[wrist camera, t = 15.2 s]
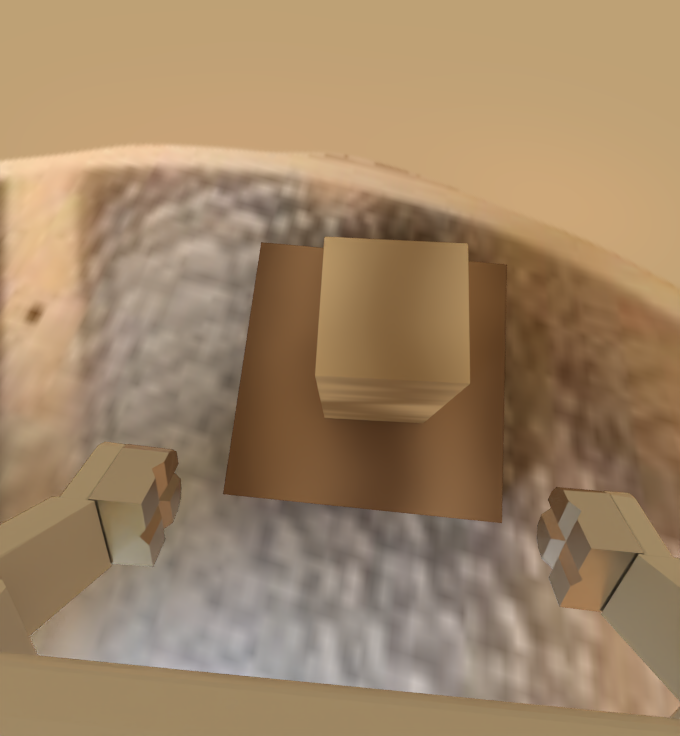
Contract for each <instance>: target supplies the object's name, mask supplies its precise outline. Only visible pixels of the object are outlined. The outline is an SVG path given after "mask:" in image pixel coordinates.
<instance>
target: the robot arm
mask: <svg viewBox="0 0 680 736" xmlns="http://www.w3.org/2000/svg"><path fill="white" fill-rule="evenodd" d="M177 466H178V458H177V452H176V451H174V450H173V449H165V448H156V447H148V446H140V445H132V444H119V443H111V442H103V443H102V444H100V445H98V446H97V448H96V449H95V450H94V452H93V453H92V454H91V456H90V457H89V458H88V460H87V461H86V462H85V464H84V465H83V466H82V468H81V469H80V470H79V472H78V473H77V474H76V476H75V477H74V478H73V480H72V481H71V483H70V484H69V485H68V487H67V488H66V489H65V491H64V492H63V493H62V495H61V496H60V497H51V498H49V499H47V500H45V501H43V502H41V503H40V504H38V505H36V506H34V507H32V508H30V509H28V510H27V511H25V512H23V513H21V514H19V515H17V516H15V517H14V518H12V519H10V520H8V521H6V522H4V523H2V524H1V525H0V736H680V707H679V708H678V709H677V710H676V711H675V712H674V713H673V714H672V715H671V717H670V718H666V717H656V716H646V715H636V714H626V713H616V712H606V711H595V710H585V709H575V708H565V707H555V706H545V705H534V704H524V703H514V702H504V701H494V700H484V699H474V698H463V697H453V696H443V695H433V694H423V693H413V692H403V691H392V690H382V689H372V688H362V687H351V686H341V685H331V684H321V683H310V682H300V681H290V680H280V679H269V678H259V677H249V676H239V675H229V674H219V673H209V672H199V671H189V670H178V669H168V668H158V667H148V666H138V665H128V664H118V663H108V662H98V661H87V660H77V659H67V658H57V657H47V656H38V654H37V652H36V650H35V648H34V646H33V644H32V642H31V640H30V637H29V636H30V635H31V634H32V633H33V632H34V631H35V630H37V629H38V628H39V627H40V626H41V625H43V624H44V623H45V622H46V621H47V620H48V619H50V618H51V617H52V616H53V615H54V614H56V613H57V612H58V611H59V610H60V609H61V608H63V607H64V606H65V605H66V604H67V603H69V602H70V601H71V600H72V599H73V598H74V597H76V596H77V595H78V594H79V593H80V592H82V591H83V590H84V589H85V588H86V587H87V586H89V585H90V584H91V583H92V582H93V581H95V580H96V579H97V578H98V577H99V576H100V575H102V574H103V573H104V572H105V571H106V570H108V569H109V568H110V567H111V564H120V565H135V566H149V567H153V566H154V564H155V562H156V559H157V557H158V555H159V553H160V550H161V548H162V546H163V544H164V541H165V534H164V528H166V527H167V526H168V525H170V524H171V523H173V521H174V519H175V516H176V514H177V512H178V508H179V503H180V499H181V480H180V478H179V477H178V476H177V475H176V474H175V473H174V472H175V470H176V468H177ZM548 501H549V503H550V506H551V509H549V510H548V511H546V512H544V513H543V514H542V515H541V517H540V520H539V523H538V525H537V543H538V549H539V552H540V555H541V558H542V559H543V560H544V561H545V562H546V563H547V564H548V565H549V566H550V567H551V568H552V571H551V573H550V575H549V580H550V582H551V585H552V588H553V591H554V593H555V596H556V599H557V601H558V604H559V607H565V608H573V609H581V610H589V611H596V612H602V613H601V615H602V616H603V617H604V618H605V619H606V620H607V621H608V623H609V624H610V625H611V626H612V627H613V628H614V629H615V630H616V631H617V633H618V634H619V635H620V636H621V637H622V638H623V639H624V640H625V641H626V642H627V644H628V645H629V646H630V647H631V648H632V649H633V650H634V651H635V652H636V654H637V655H638V656H639V657H640V658H641V659H642V660H643V661H644V662H645V663H646V665H647V666H648V667H649V668H650V669H651V670H652V671H653V672H654V673H655V675H656V676H657V677H658V678H659V679H660V680H661V681H662V682H663V683H664V684H665V686H666V687H667V688H668V689H669V690H670V691H671V692H672V693H673V694H674V696H675V697H676V698H677V699H678V700H679V701H680V558H673V557H672V555H671V553H670V552H669V550H668V549H667V547H666V546H665V544H664V543H663V541H662V539H661V538H660V536H659V535H658V533H657V532H656V530H655V529H654V527H653V525H652V524H651V522H650V521H649V519H648V518H647V516H646V515H645V513H644V511H643V510H642V508H641V507H640V505H639V504H638V502H637V501H636V499H635V498H634V497H633V496H632V495H630V494H629V493H622V492H610V491H603V492H602V491H596V490H584V489H573V488H562V487H556V488H555V489H554V490H553V491H552V492H551V494H550V496H549V499H548Z"/></svg>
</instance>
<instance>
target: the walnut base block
mask: <svg viewBox="0 0 680 736" xmlns="http://www.w3.org/2000/svg"><path fill="white" fill-rule="evenodd" d="M323 253H324V248H318V247H307V246H296V245H285V244H274V243H263V242H261V248H260V255H259V261H258V268H257V274H256V281H255V287H254V294H253V301H252V307H251V314H250V320H249V327H248V334H247V340H246V347H245V353H244V360H243V366H242V373H241V380H240V386H239V393H238V399H237V406H236V413H235V419H234V426H233V432H232V439H231V446H230V452H229V459H228V465H227V472H226V478H225V485H224V492H223V494H227V495H237V496H246V497H256V498H266V499H275V500H285V501H295V502H304V503H314V504H324V505H333V506H343V507H353V508H362V509H372V510H381V511H391V512H401V513H410V514H420V515H430V516H439V517H449V518H459V519H468V520H478V521H488V522H497V523H502V487H503V435H504V383H505V331H506V280H507V265H505V264H494V263H483V262H472V261H468V274H469V342H470V384H469V385H468V386H467V387H466V388H464V389H463V390H462V391H461V392H460V393H458V394H457V395H456V396H455V397H454V398H453V399H451V400H450V401H449V402H448V403H447V404H445V405H444V406H443V407H442V408H441V409H440V410H438V411H437V412H436V413H435V414H434V415H432V416H431V417H430V418H429V419H428V420H427V421H425V422H424V423H408V422H389V421H371V420H352V419H334V418H324V413H323V409H322V404H321V400H320V396H319V391H318V387H317V382H316V378H315V368H316V353H317V339H318V325H319V310H320V296H321V282H322V267H323Z"/></svg>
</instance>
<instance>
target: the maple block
mask: <svg viewBox="0 0 680 736" xmlns="http://www.w3.org/2000/svg"><path fill="white" fill-rule="evenodd" d="M315 378H316V382H317V387H318V391H319V396H320V400H321V404H322V409H323V413H324V418H334V419H352V420H371V421H389V422H408V423H424V422H425V421H427V420H428V419H429V418H430V417H431V416H432V415H434V414H435V413H436V412H437V411H438V410H440V409H441V408H442V407H443V406H444V405H445V404H447V403H448V402H449V401H450V400H451V399H453V398H454V397H455V396H456V395H457V394H458V393H460V392H461V391H462V390H463V389H464V388H466V387H467V386H468V385H469V384H470V342H469V274H468V244H466V243H445V242H424V241H403V240H382V239H361V238H340V237H325V239H324V253H323V267H322V282H321V296H320V310H319V325H318V339H317V353H316V368H315Z"/></svg>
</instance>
